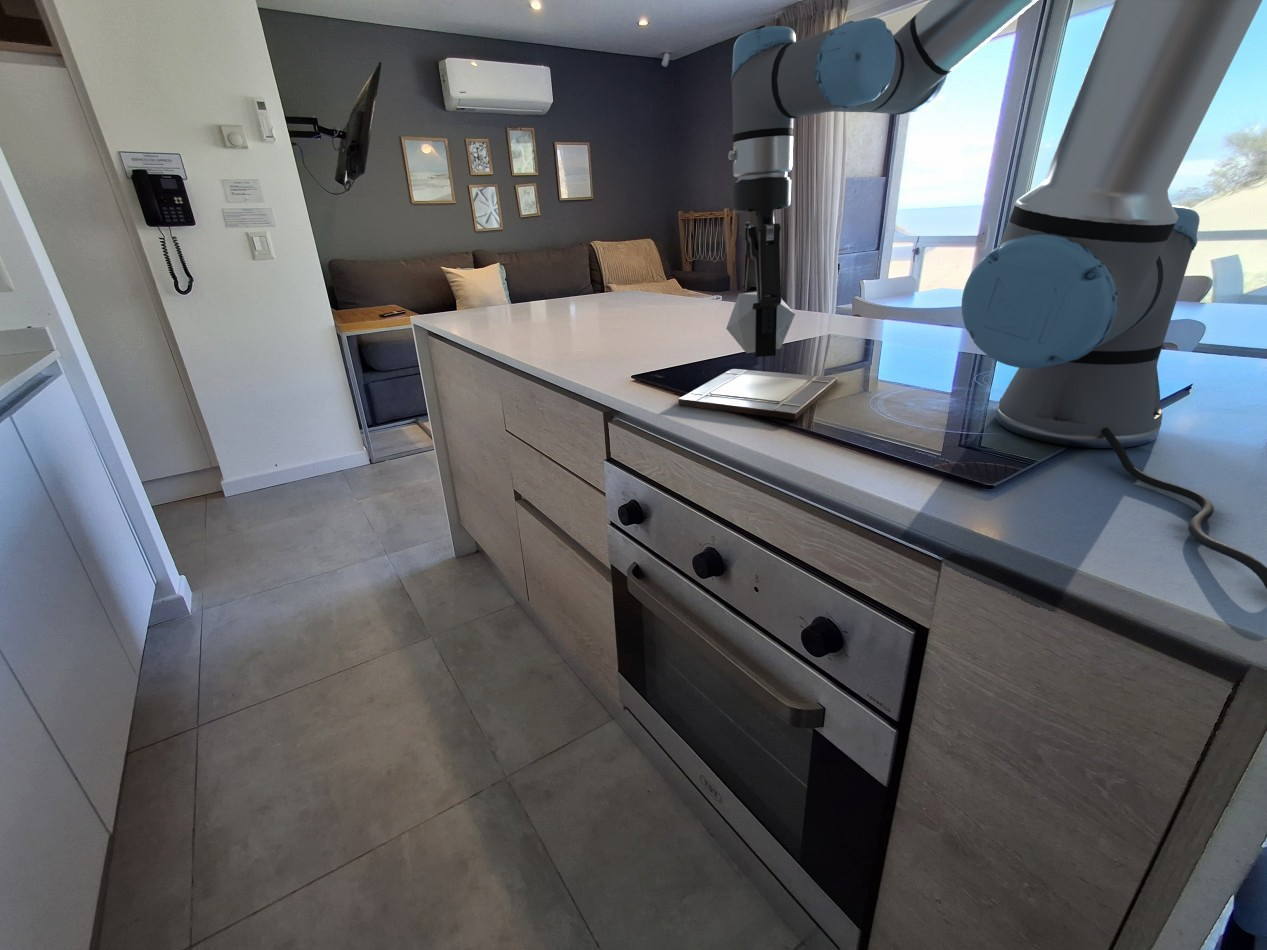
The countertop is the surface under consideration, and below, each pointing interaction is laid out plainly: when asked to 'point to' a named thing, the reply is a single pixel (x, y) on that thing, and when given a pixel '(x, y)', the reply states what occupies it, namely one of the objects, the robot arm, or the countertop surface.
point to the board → (760, 393)
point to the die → (745, 322)
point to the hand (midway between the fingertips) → (759, 347)
